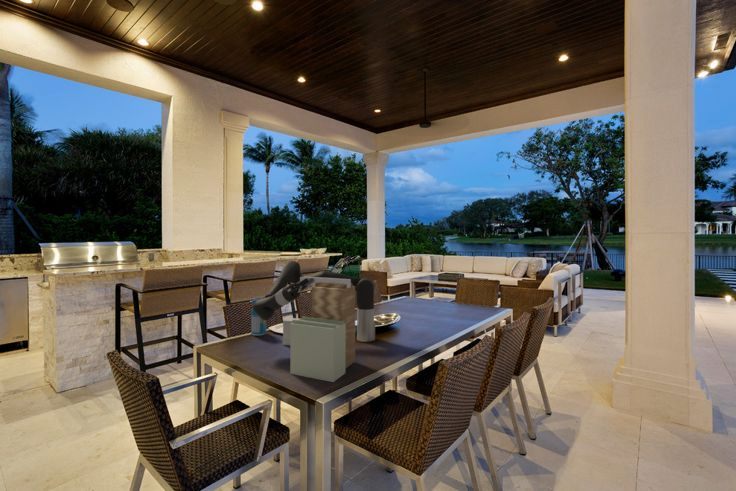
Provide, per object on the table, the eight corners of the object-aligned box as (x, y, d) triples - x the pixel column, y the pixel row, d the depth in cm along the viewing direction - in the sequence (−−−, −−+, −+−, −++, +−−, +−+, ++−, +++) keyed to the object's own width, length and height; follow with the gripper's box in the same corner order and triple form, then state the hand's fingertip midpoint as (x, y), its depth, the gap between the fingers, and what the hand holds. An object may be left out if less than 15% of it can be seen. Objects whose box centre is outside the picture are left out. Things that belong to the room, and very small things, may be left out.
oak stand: (311, 365, 154) (311, 283, 153) (326, 357, 165) (326, 280, 164) (341, 370, 148) (342, 285, 147) (354, 361, 159) (355, 282, 158)
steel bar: (300, 284, 161) (300, 277, 161) (304, 283, 164) (304, 276, 164) (346, 288, 151) (346, 280, 151) (350, 287, 154) (350, 279, 154)
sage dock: (290, 373, 144) (290, 320, 144) (304, 365, 154) (304, 315, 153) (333, 382, 136) (333, 326, 136) (345, 373, 145) (345, 320, 145)
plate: (297, 322, 232) (297, 319, 232) (326, 329, 215) (326, 326, 215) (261, 331, 211) (261, 327, 211) (290, 339, 194) (290, 335, 194)
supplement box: (296, 346, 181) (296, 321, 181) (282, 345, 182) (282, 320, 182) (301, 342, 188) (301, 318, 188) (288, 341, 190) (288, 317, 189)
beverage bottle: (250, 336, 198) (250, 300, 197) (251, 332, 206) (251, 298, 206) (266, 335, 200) (266, 300, 200) (266, 331, 208) (266, 297, 208)
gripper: (274, 289, 160) (300, 273, 154) (293, 285, 173) (318, 270, 167) (280, 304, 159) (307, 288, 153) (299, 299, 172) (324, 284, 166)
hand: (312, 279), depth 160 cm, fingers open, 8 cm apart
